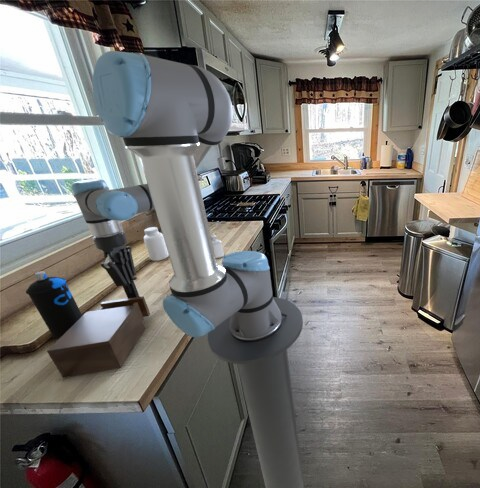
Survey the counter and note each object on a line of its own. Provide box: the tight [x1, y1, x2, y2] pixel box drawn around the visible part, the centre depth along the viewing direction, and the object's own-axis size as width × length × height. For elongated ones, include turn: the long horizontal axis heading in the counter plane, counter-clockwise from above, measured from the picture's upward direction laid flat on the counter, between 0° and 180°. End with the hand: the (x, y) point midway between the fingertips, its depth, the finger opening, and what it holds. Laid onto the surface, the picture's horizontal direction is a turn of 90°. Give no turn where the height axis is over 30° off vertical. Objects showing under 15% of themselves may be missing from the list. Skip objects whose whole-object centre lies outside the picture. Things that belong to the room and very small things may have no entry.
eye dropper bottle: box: [211, 232, 225, 259], centre depth 122 cm, size 4×6×12 cm
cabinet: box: [46, 305, 146, 379], centre depth 69 cm, size 15×13×9 cm
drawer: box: [97, 295, 151, 322], centre depth 77 cm, size 18×12×7 cm, turn 12°
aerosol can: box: [25, 270, 83, 339], centre depth 76 cm, size 8×8×20 cm
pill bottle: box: [143, 226, 169, 262], centre depth 123 cm, size 8×8×15 cm
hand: (134, 299), depth 86 cm, fingers closed
